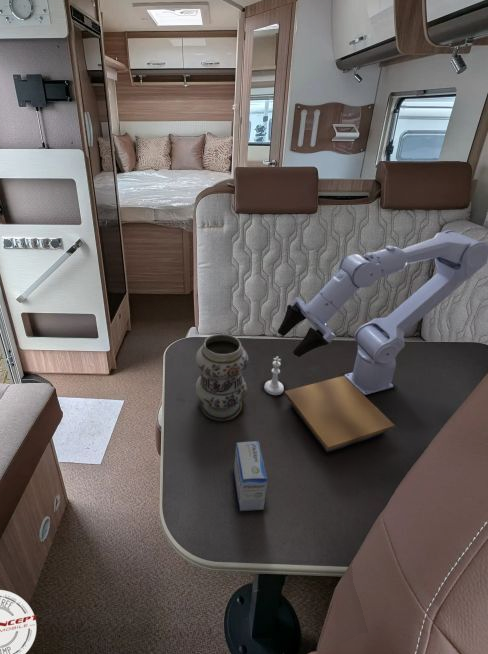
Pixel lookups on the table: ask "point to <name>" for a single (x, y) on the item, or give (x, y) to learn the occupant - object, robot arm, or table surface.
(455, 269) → the robot arm
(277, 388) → the chess piece
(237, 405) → the apothecary jar
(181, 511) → the table surface
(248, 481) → the medicine box
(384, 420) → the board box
